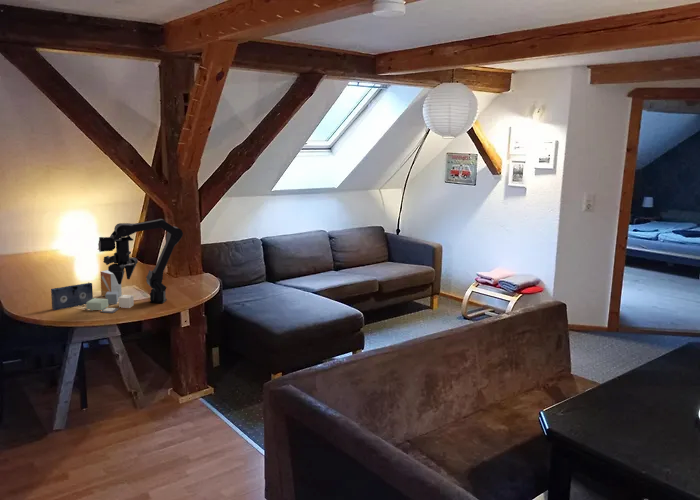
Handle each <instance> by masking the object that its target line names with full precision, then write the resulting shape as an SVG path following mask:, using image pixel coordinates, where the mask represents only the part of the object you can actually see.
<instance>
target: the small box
mask: <svg viewBox="0 0 700 500" xmlns="http://www.w3.org/2000/svg"><path fill="white" fill-rule="evenodd" d="M117 291H118V298H119V297H121V296H122V295H123V294H122V293H123V292H122V283H121V284H118V282H117V279H116V277H115V275H114V274H113V273H112V272H110V271H108V269H106V270H101V271H100V293H101V294H100V296H102V297H103V298H104V297H105V294H106V293H107V292H117ZM105 298H106V297H105Z"/></svg>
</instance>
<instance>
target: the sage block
mask: <svg viewBox="0 0 700 500" xmlns="http://www.w3.org/2000/svg"><path fill="white" fill-rule="evenodd" d="M85 305H86V306H85V307H86V310H87V309H91V310H90V311H93V310H103V309H105V308H106V307H107V308H109V304H108V299H106V298H95V297H93V299H91V300H90V301H88V302H86V304H85Z"/></svg>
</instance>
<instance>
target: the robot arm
mask: <svg viewBox="0 0 700 500" xmlns="http://www.w3.org/2000/svg"><path fill="white" fill-rule="evenodd" d="M160 228H161V229H162V230H163V231H165V232H167V234H166V238H165V244H164V245H163V249H162V251H161V253H160V255H159V257H158V260H157V262H156V265H155V267H154V268H153V270H150V269H149V270H148V272H147V275H146V277H145V278H146V284H147V285H149V287H150V288H151V289H150V292H149V303H151V304H163V303H165V302H166V301H167V300H168V299H167V298H166V297H167V296H166V295H167V293H166V290H167V286H165V284H163V279H164V272H165V269H166V267H167V264H168V262H169V260H170V258H171V255H172V253H173V250H174V249H175V247H176V245H177V244H178V243H179V242H180V240H182V238H183V235H184V233H183V230H182V229H181V228H179V227H177V226H174V225H171V224H170V223H168V222H167V221H166V220H165V219H163V218H158V219H153V220H148V221H142V222H138V223H137V222H136V223H129V222H128V223H127V222H126V223H125V222H122V223H121V222H120V223H117V224H115V226H114V230H113V231H112V233H110V236H100V237H98V244H97V245H98V246H97V247H98V251H99V253H101V252H102V253H103V252H113V251H114V250H115V249H116V250H115V252H114V253H113V255H110V256H109V255H105V256H103V263H104V264H105V265H106V266H108V265H109V266H108V267H107V270H108V271H110V272H112V273H113V274H114V275H115V277H116V279H117V282H118V284H121V285H122V282H123V278H124V275H125V276H126V279H127V280H130V279H131V277H132V274H133V273H134V270H135V268H136V267H137V264H138V262H139V261H138V258H137V257H130V255H131V253H132V252H131V251H130V242H131V241H132V242H133V241H134V238H132V236H131V235H133V234H135V233H138V232H145V231H149V230H154V229H155V230H156V229H160Z"/></svg>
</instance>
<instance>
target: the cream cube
mask: <svg viewBox="0 0 700 500" xmlns="http://www.w3.org/2000/svg"><path fill="white" fill-rule="evenodd" d="M134 301H135V300H134V294H122V296H120V297H118V308H120V307H121V309H123V308H124V309H130V308H132V307H133V306H134V305H135V303H134Z"/></svg>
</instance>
